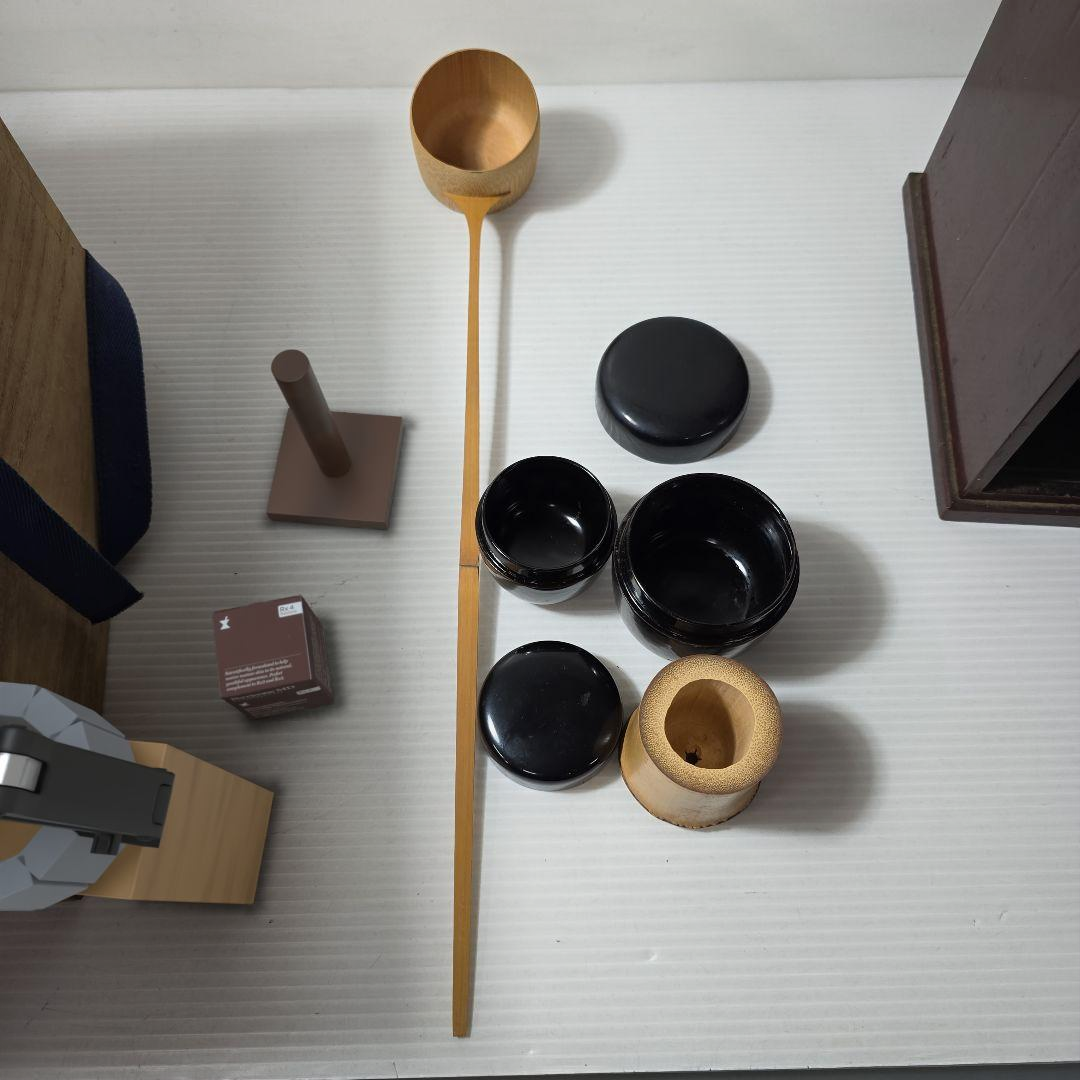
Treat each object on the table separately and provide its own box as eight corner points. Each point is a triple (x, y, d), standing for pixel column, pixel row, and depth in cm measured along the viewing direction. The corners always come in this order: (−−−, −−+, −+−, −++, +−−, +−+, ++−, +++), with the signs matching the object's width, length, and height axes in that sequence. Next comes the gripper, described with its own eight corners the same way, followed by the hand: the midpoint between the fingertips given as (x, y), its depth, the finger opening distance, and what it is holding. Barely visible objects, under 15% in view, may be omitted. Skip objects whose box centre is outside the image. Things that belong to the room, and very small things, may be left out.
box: (250, 721, 67) (216, 699, 60) (242, 640, 69) (209, 610, 62) (336, 704, 68) (312, 680, 61) (325, 623, 70) (301, 592, 63)
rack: (271, 520, 73) (203, 423, 58) (292, 416, 76) (234, 300, 62) (387, 530, 72) (349, 434, 58) (404, 425, 76) (371, 310, 61)
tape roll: (-88, 899, 41) (-167, 897, 37) (-27, 698, 44) (-92, 672, 40) (112, 918, 41) (58, 919, 36) (160, 715, 44) (116, 691, 40)
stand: (146, 894, 63) (-21, 885, 44) (171, 782, 66) (24, 730, 47) (253, 904, 63) (131, 900, 44) (274, 792, 65) (167, 743, 47)
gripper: (-899, 832, 22) (-200, 870, 43) (14, 920, 22) (270, 916, 43) (-716, 532, 25) (-143, 706, 46) (99, 604, 24) (301, 746, 45)
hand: (56, 807), depth 44 cm, fingers closed on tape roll, 9 cm apart
